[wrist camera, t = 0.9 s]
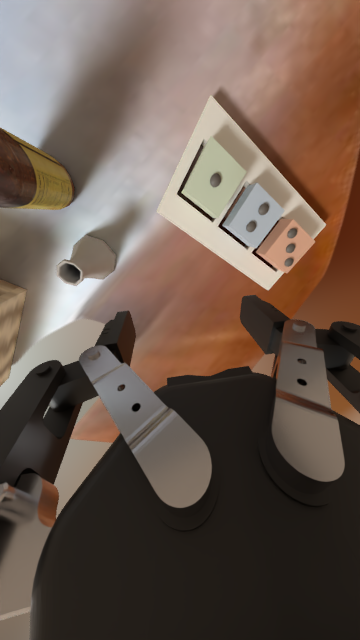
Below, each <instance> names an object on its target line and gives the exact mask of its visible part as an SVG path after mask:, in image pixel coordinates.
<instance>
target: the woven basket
mask: <svg viewBox="0 0 360 640" xmlns="http://www.w3.org/2000/svg"><path fill="white" fill-rule="evenodd" d="M26 292H27V290H26V289H23V288H21V287H18V286H16V285H13V284H11V283H8V282H6V281H4V280H1V279H0V386H1V385H2V384H3V383H4V382H5V381H6V380H7V379H8V378H9V375H10V370H11V365H12V360H13V355H14V351H15V346H16V341H17V336H18V331H19V326H20V321H21V316H22V311H23V306H24V302H25V297H26Z"/></svg>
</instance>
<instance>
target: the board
mask: <svg viewBox="0 0 360 640" xmlns="http://www.w3.org/2000/svg"><path fill="white" fill-rule="evenodd" d="M210 136H212V137H213V138H214V139H215V140H216V141H217V142H218V143H219V144H220V145H221V146H222V147H223V148H224V149H225V150H226V151H227V152H228V153H229V154H230V155H231V156H232V157H233V158H234V160H235V161H236V162H237V163H238V164H239V165H240V166H241V167H242V168H243V169H244V170H245V171H246V174H245V176H244V177H243V179H242V180H241V182H240V184H239V185H238V187H237V188H236V190H235V192H234V193H233V195H232V197H231V198H230V200H229V201H228V203H227V205H226V206H225V208H224V210H223V211H222V213H221V214H220V216H219V218H212V220H211V221H210V220H209V219H208V218H206V217H205V216H204V215H202V214H201V213H200V212H199V211H197V210H196V209H195V208H194V207H192V206H191V205H190V204H188V203H187V202H186V201H185V200H183V199H182V198H181V197H180V196H178V195H177V192H178V190H179V188H180V186H181V184H182V182H183V180H184V178H185V176H186V174H187V172H188V170H189V168H190V166H191V164H192V162H193V160H194V158H195V156H196V153H197V151H198V149H199V147H200V145H202V146H203V147H204V146H205V144H206V143H207V141H208V140H209V138H210ZM255 183H258V184H259V185H260V186H261V187H262V188H263V189H264V190H265V191H266V192H267V193H268V194H269V195H270V196H271V197H272V198H273V199H274V200H275V201H276V202H277V203H278V204H279V205H280V206H281V207H282V208H283V209H284V210H285V211H284V213H283V214H282V215H281V217H280V218H279V219H278V220H279V221H280V220H281V219H294V220H295V221H296V222H297V223H298V224H299V226H300V227H301V228H302V229H303V230H304V231H305V232H306V233H307V234H308V235H309V236H310V237H311V238H312V239H314V238H315V237H316V236H317V235H318V234H319V232H320V231H321V230H322V229H323V228H324V227H325V226H326V224H325V223H324V222H323V220H322V219H321V218H320V217H319V216H318V215H317V214H316V213H315V211H314V210H313V209H312V208H311V207H310V206H309V205H308V204H307V202H306V201H305V200H304V199H303V198H302V197H301V196H300V195H299V193H298V192H297V191H296V190H295V189H294V188H293V187H292V186H291V184H290V183H289V182H288V181H287V180H286V179H285V178H284V177H283V175H282V174H281V173H280V172H279V171H278V170H277V169H276V168H275V166H274V165H273V164H272V163H271V162H270V161H269V160H268V159H267V157H266V156H265V155H264V154H263V153H262V152H261V151H260V150H259V148H258V147H257V146H256V145H255V144H254V143H253V142H252V141H251V139H250V138H249V137H248V136H247V135H246V134H245V133H244V132H243V130H242V129H241V128H240V127H239V126H238V125H237V124H236V123H235V121H234V120H233V119H232V118H231V117H230V116H229V115H228V114H227V112H226V111H225V110H224V109H223V108H222V107H221V106H220V105H219V103H218V102H217V101H216V100H215V99H214V98H213V97H212V96H211V95H210V97H209V100H208V102H207V104H206V106H205V108H204V110H203V113H202V115H201V117H200V119H199V121H198V123H197V125H196V128H195V130H194V132H193V134H192V136H191V138H190V140H189V143H188V145H187V147H186V149H185V151H184V153H183V155H182V158H181V160H180V162H179V164H178V166H177V168H176V171H175V173H174V175H173V177H172V179H171V181H170V183H169V186H168V188H167V190H166V192H165V194H164V196H163V198H162V201H161V203H160V205H159V207H158V209H157V211H156V212H157V213H159V214H160V215H161V216H163V217H164V218H166V219H167V220H169V221H170V222H171V223H173V224H174V225H176V226H177V227H178V228H180V229H181V230H183V231H184V232H186V233H187V234H188V235H190V236H191V237H193V238H194V239H195V240H197V241H198V242H200V243H201V244H203V245H204V246H205V247H207V248H208V249H210V250H211V251H212V252H214V253H215V254H217V255H218V256H219V257H221V258H222V259H224V260H225V261H227V262H228V263H229V264H231V265H232V266H234V267H235V268H236V269H238V270H239V271H241V272H242V273H244V274H245V275H246V276H248V277H249V278H251V279H252V280H253V281H255V282H256V283H258V284H259V285H260V286H262V287H263V288H265V289H266V290H269V289H270V288H271V287H272V286H273V285H274V283H275V282H276V281H277V280H278V279H279V278H280V277H281V276H282V274H283V273H284V272H283V271H280V270H278V269H276V268H275V267H274V266H273V267H272V268H270V267H269V266H267V265H266V264H265V263H264V262H262V261H261V260H260V259H258V258H257V257H256V256H255V255H253V254H252V251H253V250H254V249H255V248H253V247H250V246H247V245H246V244H245V246H244V247H243V246H242V245H241V244H239V243H238V242H237V241H236V240H234V239H233V238H232V237H230V236H229V235H228V234H227V233H225V232H224V231H223V230H222V229H220V228H219V227H218V225H219V224H220V222H221V220H222V219H223V217H224V216H225V214H226V213H227V211H228V209H229V208H230V206H231V205H232V203H233V201H234V200H235V198H236V197H237V195H238V193H239V192H240V190H241V189H242V187H243V186H244V187H245V188H246V187H247V186H249V185H252V184H255Z"/></svg>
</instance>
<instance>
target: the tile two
mask: <svg viewBox="0 0 360 640" xmlns="http://www.w3.org/2000/svg"><path fill="white" fill-rule="evenodd" d="M284 211H285V210H284V209H283V208H282V207H281V206H280V205H279V204H278V203H277V202H276V201H275V200H274V199H273V198H272V197H271V196H270V195H269V194H268V193H267V192H266V191H265V190H264V189H263V188H262V187H261V186H260V185H259V184H258V183H255V184H252V185H249V186H247V187H246V189H245V191H244V192H243V194H242V195H241V197H240V198H239V200H238V202H237V203H236V205H235V206H234V208H233V209H232V211H231V213H230V214H229V216H228V217H227V219H226V220H225V222H224V223H223V225H222V226H224V227H225V228H226V229H227V230H229V231H230V232H231V233H232V234H234V235H235V236H236V237H237V238H239V239H240V240H241V241H242V242H244V243H245V244H246V245H247V246H250V247H253V248H257V247H258V246H259V244H260V243H261V242H262V240H263V239H264V238H265V236H266V235H267V234H268V232H269V231H270V230H271V228H272V227H273V226H274V225H275V223H276V222H277V221H278V219H279V218H280V217H281V215H282V214H283V213H284Z"/></svg>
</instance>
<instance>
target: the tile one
mask: <svg viewBox="0 0 360 640" xmlns="http://www.w3.org/2000/svg"><path fill="white" fill-rule="evenodd" d="M245 174H246V171H245V170H244V169H243V168H242V167H241V166H240V165H239V164H238V163H237V162H236V161H235V160H234V158H233V157H232V156H231V155H230V154H229V153H228V152H227V151H226V150H225V149H224V148H223V147H222V146H221V145H220V144H219V143H218V142H217V141H216V140H215V139H214V138H213V137H212V136H210V138H209V140H208V141H207V143H206V144H205V146H204V148H203V150H202V152H201V154H200V156H199V158H198V160H197V162H196V164H195V166H194V168H193V170H192V172H191V174H190V176H189V178H188V180H187V182H186V184H185V186H184V188H183V190H182V192H181V193H182V194H184V195H185V196H186V197H187V198H189V199H190V200H191V201H192V202H194V203H195V204H196V205H197V206H199V207H200V208H201V209H202V210H204V211H205V212H206V213H207V214H209V215H210V216H211V217H212V218H219V216H220V214H221V213H222V211H223V210H224V208H225V206H226V205H227V203H228V201H229V200H230V198H231V197H232V195H233V193H234V192H235V190H236V188H237V187H238V185H239V184H240V182H241V180H242V179H243V177H244V176H245Z"/></svg>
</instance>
